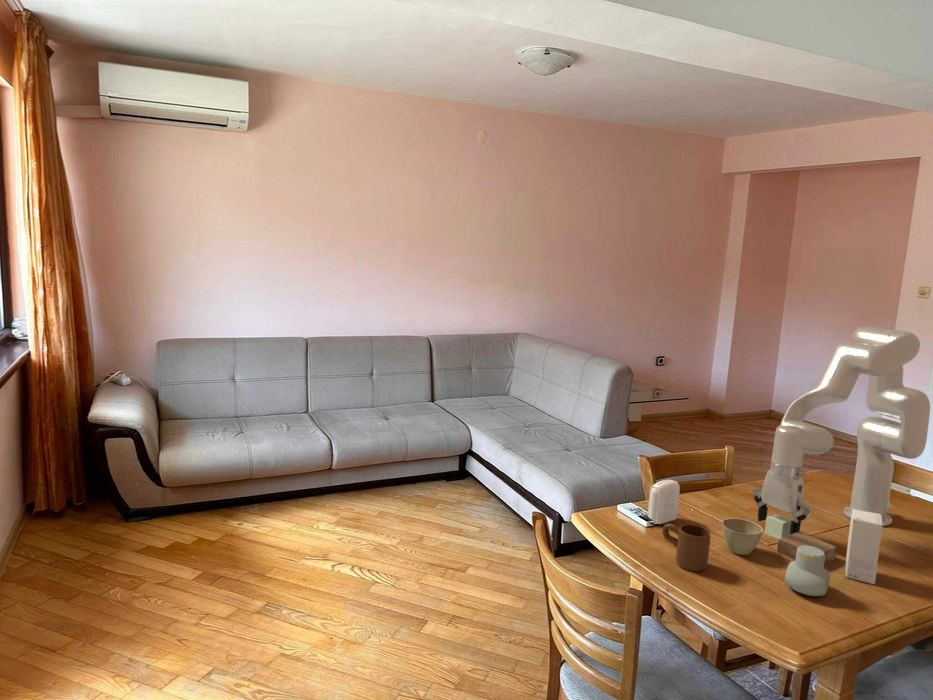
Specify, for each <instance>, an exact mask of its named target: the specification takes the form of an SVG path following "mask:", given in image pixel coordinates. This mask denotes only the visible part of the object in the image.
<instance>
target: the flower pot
mask: <svg viewBox="0 0 933 700" xmlns="http://www.w3.org/2000/svg"><path fill="white" fill-rule="evenodd" d="M721 528H722V533H723V534H722V535H723V537H724V540H725V543H726V546H727V548H728V549H729V551H730V552H731V553H733V554H736V555H738V556H739V555H740V556H748V555H750V554H751V553H752V552H753V551H754V550H755V548H756V547H757V545H758V544H759V542H760V540H761V538H762V535H763V531H764V529H763V527H762V526H761V525H759V524H758V523H756V522H755V521H751V520H748V519H744V518H736V517H734V518H733V517H728V518H724V519H723V520H722V521H721Z"/></svg>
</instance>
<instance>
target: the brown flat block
mask: <svg viewBox="0 0 933 700" xmlns="http://www.w3.org/2000/svg"><path fill="white" fill-rule="evenodd" d="M777 540H778V542H777V550H776V552H777V553H779V554H781V555H783V556H786V557H788V558H790V559H793V561H795V560H796V553H797V548H798V547H799V546H802V545H808V546H813V547H816V548H818V549H820V550H822V551H823V552H824V553H825V561H824V565H825V564H827V563H830V562H832V561H833V560H835V559H836V553H837V546H835V544H831V543H829V542H826V541H825V540H821V539H819V538H816V537H814V536H811V535H809V534H806V533H803V532H801V531H799V532H796V533H794V534H791V535H789V536H786V537H784V538H781V539H777Z"/></svg>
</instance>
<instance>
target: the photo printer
mask: <svg viewBox="0 0 933 700" xmlns="http://www.w3.org/2000/svg"><path fill="white" fill-rule="evenodd" d="M680 490H681V487H680V484H679V482H678V481H676V480H672V479H664V480H661V481H657V482H656V483H655V484H653V485H652V486H650V488H649V494H648V495H649V496H648V505H647V515H646V517H647V516H648V517H649V518H650V519H652V520H654V521H656V523H657V524H659V525H663V524H667V523H669V522H672V521H675V520H677V519H678V510H679V500H680V492H681V491H680Z"/></svg>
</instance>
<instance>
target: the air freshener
mask: <svg viewBox="0 0 933 700" xmlns="http://www.w3.org/2000/svg"><path fill="white" fill-rule="evenodd" d="M824 561H825V553H824V552H823V551H822V550H820V549H818V548H816V547H813V546H808V545H802V546H799V547H798V548H797V553H796V560H793V561H790V562H789V563H788V566H787V568H786V571H785V574H784V582H785V584H787V585H788V587H790V588H791V589H792V590H794V591H795V592H797V593H799V594H802V595H806V596H810V597H822V596H825V595H826V594H827V591H828V590H829V586H830V581H831V573H830V572H829V571H828V570H827V569H826V568H825V564H824Z"/></svg>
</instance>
